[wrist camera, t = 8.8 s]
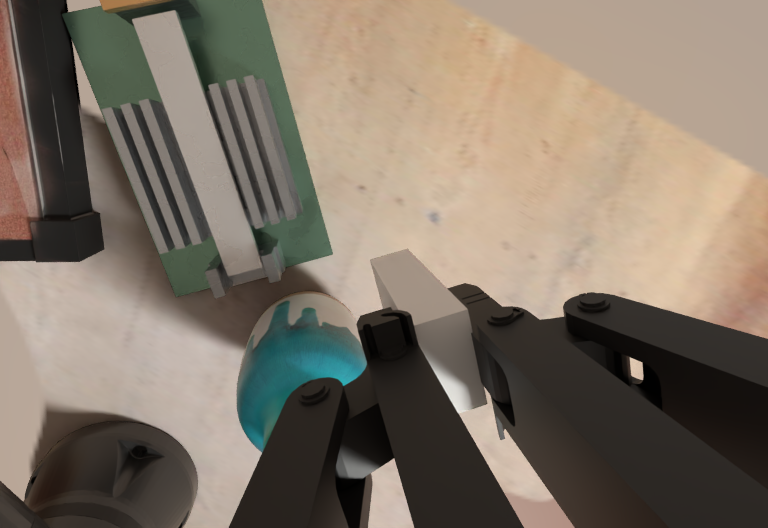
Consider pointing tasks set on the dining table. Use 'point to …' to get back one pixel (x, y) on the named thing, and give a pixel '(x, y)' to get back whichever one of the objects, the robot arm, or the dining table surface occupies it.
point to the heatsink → (235, 126)
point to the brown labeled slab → (42, 140)
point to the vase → (294, 356)
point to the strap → (198, 138)
